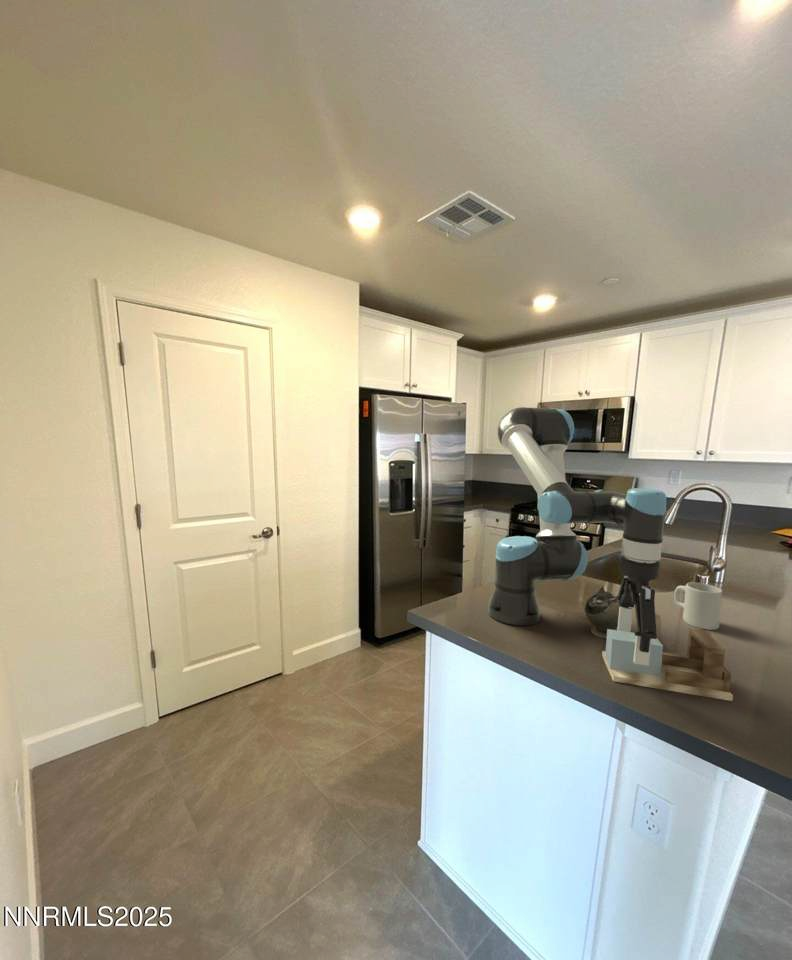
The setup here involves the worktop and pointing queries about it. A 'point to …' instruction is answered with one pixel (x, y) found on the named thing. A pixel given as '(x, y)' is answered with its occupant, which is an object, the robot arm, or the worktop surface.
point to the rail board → (687, 670)
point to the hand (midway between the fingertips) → (631, 647)
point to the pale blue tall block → (631, 653)
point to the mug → (700, 605)
